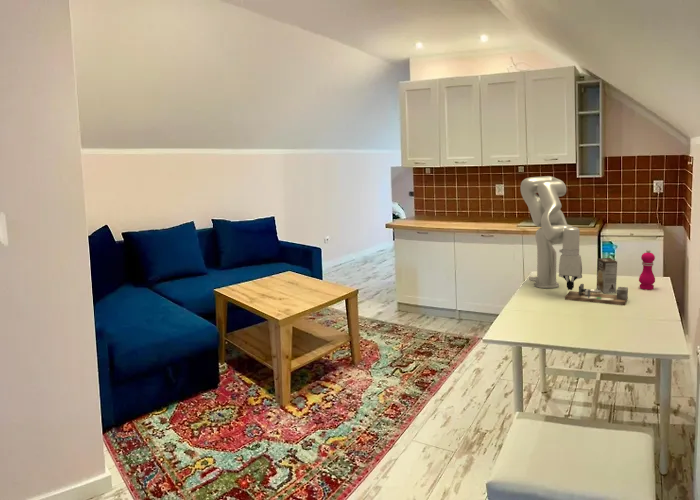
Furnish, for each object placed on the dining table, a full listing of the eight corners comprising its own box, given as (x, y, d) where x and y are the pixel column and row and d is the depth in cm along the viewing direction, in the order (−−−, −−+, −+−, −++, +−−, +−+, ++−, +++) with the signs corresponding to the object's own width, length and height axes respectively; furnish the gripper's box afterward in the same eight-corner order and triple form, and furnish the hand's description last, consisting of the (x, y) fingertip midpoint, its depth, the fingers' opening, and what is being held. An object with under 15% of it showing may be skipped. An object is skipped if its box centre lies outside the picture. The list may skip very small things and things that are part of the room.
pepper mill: (654, 287, 277) (656, 248, 273) (655, 290, 271) (657, 251, 267) (638, 286, 280) (639, 247, 276) (638, 289, 274) (640, 250, 270)
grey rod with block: (577, 295, 262) (578, 287, 262) (580, 291, 269) (581, 283, 268) (598, 297, 257) (599, 289, 257) (601, 293, 264) (601, 285, 263)
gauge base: (565, 299, 264) (565, 287, 263) (569, 293, 273) (569, 282, 272) (624, 305, 250) (625, 292, 249) (627, 299, 259) (628, 287, 258)
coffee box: (595, 289, 279) (596, 258, 276) (608, 288, 279) (609, 257, 276) (603, 293, 270) (604, 261, 267) (616, 293, 270) (618, 261, 267)
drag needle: (587, 296, 258) (587, 290, 258) (588, 295, 260) (588, 289, 260) (589, 297, 258) (589, 291, 257) (590, 295, 260) (590, 289, 259)
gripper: (552, 253, 266) (552, 289, 269) (585, 254, 258) (585, 292, 261) (556, 250, 272) (556, 286, 275) (588, 251, 264) (587, 288, 267)
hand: (570, 289), depth 268 cm, fingers closed
